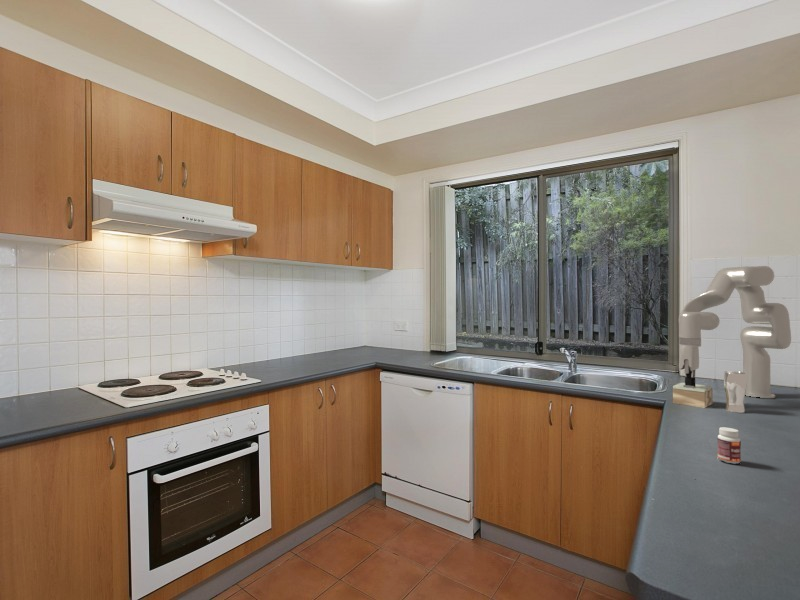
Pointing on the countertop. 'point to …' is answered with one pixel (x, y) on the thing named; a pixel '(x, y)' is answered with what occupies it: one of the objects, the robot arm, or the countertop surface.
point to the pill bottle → (729, 445)
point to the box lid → (697, 387)
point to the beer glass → (735, 391)
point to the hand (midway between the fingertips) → (690, 386)
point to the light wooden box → (693, 398)
